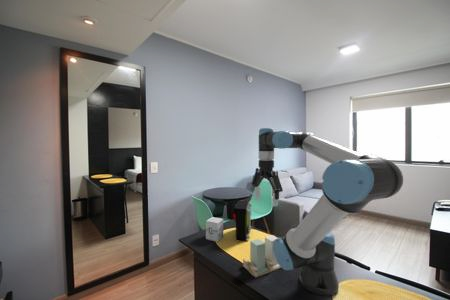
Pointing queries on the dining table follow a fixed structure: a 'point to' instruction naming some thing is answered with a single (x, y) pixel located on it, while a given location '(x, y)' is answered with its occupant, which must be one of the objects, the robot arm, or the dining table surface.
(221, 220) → the ink box
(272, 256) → the white tall block
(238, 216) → the electrical component
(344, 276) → the dining table surface
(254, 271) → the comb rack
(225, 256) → the dining table surface
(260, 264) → the sage plug
